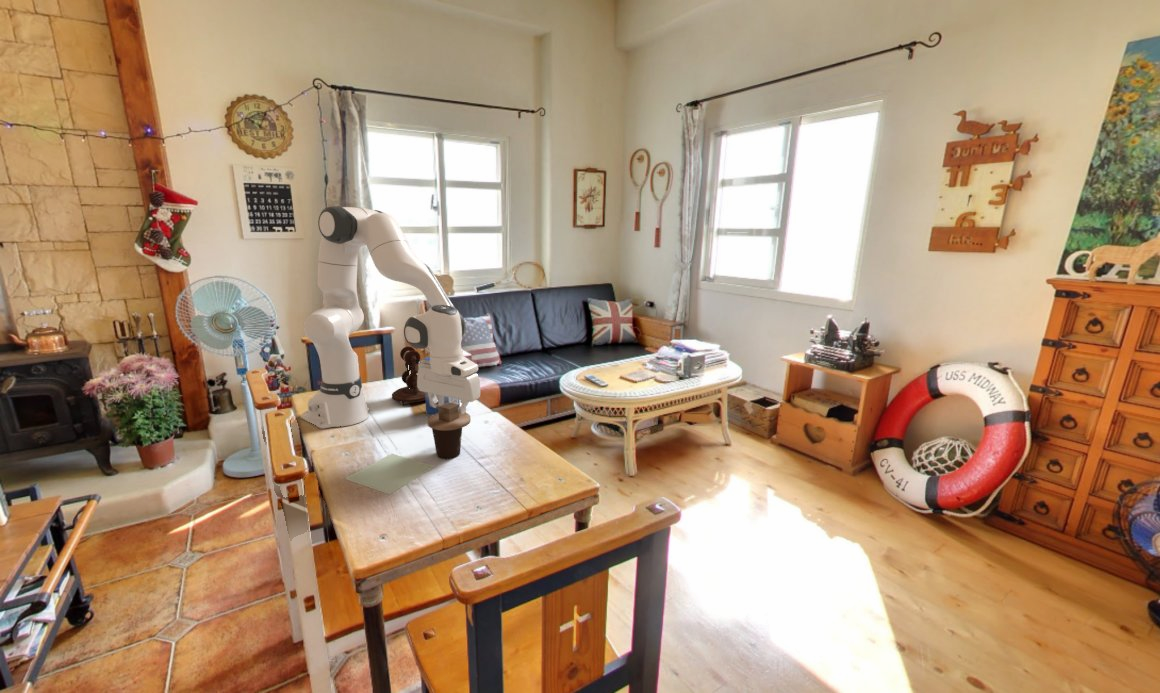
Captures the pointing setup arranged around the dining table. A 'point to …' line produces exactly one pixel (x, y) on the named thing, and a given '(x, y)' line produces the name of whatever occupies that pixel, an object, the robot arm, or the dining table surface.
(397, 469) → the mat
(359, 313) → the robot arm
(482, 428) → the dining table surface
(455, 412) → the lid
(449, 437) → the coffee mug
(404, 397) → the dark brown tall piece
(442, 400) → the milk carton
